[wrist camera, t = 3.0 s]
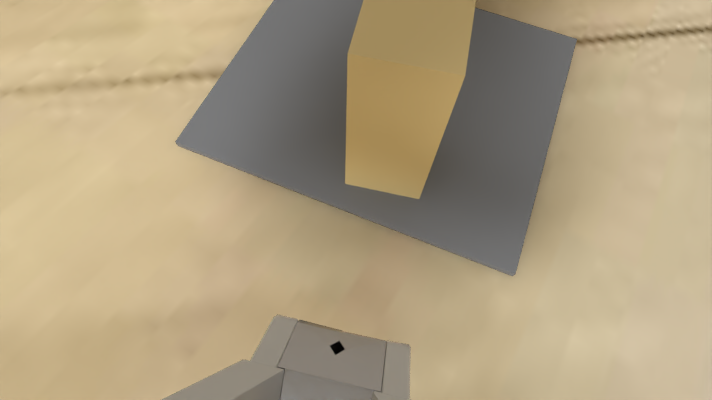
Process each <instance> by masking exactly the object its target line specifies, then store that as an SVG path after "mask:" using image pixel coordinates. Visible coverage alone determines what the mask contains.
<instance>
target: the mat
mask: <svg viewBox="0 0 712 400" xmlns="http://www.w3.org/2000/svg"><path fill="white" fill-rule="evenodd" d="M362 3H363V0H274V1H273V2H272V4H271V5H270V7H269V8H268V9H267V11H266V12H265V14H264V15H263V17H262V18H261V20H260V21H259V22H258V24H257V25H256V27H255V28H254V30H253V31H252V32H251V34H250V35H249V37H248V38H247V40H246V41H245V42H244V44H243V45H242V47H241V48H240V50H239V51H238V53H237V54H236V55H235V57H234V58H233V60H232V61H231V63H230V64H229V65H228V67H227V68H226V70H225V71H224V73H223V74H222V75H221V77H220V78H219V80H218V81H217V83H216V84H215V86H214V87H213V88H212V90H211V91H210V93H209V94H208V96H207V97H206V98H205V100H204V101H203V103H202V104H201V106H200V107H199V108H198V110H197V111H196V113H195V114H194V116H193V117H192V119H191V120H190V121H189V123H188V124H187V126H186V127H185V129H184V130H183V131H182V133H181V134H180V136H179V137H178V139H177V140H176V141H175V142H176V144H177V145H178V146H180V147H183V148H185V149H188V150H190V151H193V152H195V153H198V154H201V155H203V156H206V157H208V158H211V159H213V160H216V161H219V162H221V163H224V164H226V165H229V166H231V167H234V168H236V169H239V170H242V171H244V172H247V173H249V174H252V175H254V176H257V177H260V178H262V179H265V180H267V181H270V182H272V183H275V184H278V185H280V186H283V187H285V188H288V189H290V190H293V191H295V192H298V193H301V194H303V195H306V196H308V197H311V198H313V199H316V200H319V201H321V202H324V203H326V204H329V205H331V206H334V207H336V208H339V209H342V210H344V211H347V212H349V213H352V214H354V215H357V216H360V217H362V218H365V219H367V220H370V221H372V222H375V223H378V224H380V225H383V226H385V227H388V228H390V229H393V230H395V231H398V232H401V233H403V234H406V235H408V236H411V237H413V238H416V239H419V240H421V241H424V242H426V243H429V244H431V245H434V246H436V247H439V248H442V249H444V250H447V251H449V252H452V253H454V254H457V255H460V256H462V257H465V258H467V259H470V260H472V261H475V262H478V263H480V264H483V265H485V266H488V267H490V268H493V269H495V270H498V271H501V272H503V273H506V274H508V275H511V276H513V275H515V274H516V270H517V266H518V262H519V258H520V254H521V251H522V247H523V243H524V239H525V235H526V231H527V228H528V224H529V220H530V216H531V212H532V209H533V205H534V201H535V197H536V193H537V189H538V186H539V182H540V178H541V174H542V170H543V167H544V163H545V159H546V155H547V151H548V147H549V144H550V140H551V136H552V132H553V128H554V124H555V121H556V117H557V113H558V109H559V105H560V102H561V98H562V94H563V90H564V86H565V82H566V79H567V75H568V71H569V67H570V63H571V60H572V56H573V52H574V48H575V44H576V40H577V39H575V38H572V37H568V36H565V35H562V34H559V33H556V32H552V31H549V30H546V29H543V28H539V27H536V26H533V25H530V24H526V23H523V22H520V21H517V20H514V19H510V18H507V17H504V16H501V15H497V14H494V13H491V12H488V11H484V10H481V9H478V8H475V11H474V18H473V25H472V32H471V39H470V46H469V53H468V60H467V67H466V74H465V78H464V80H463V83H462V86H461V89H460V91H459V94H458V97H457V99H456V102H455V105H454V107H453V110H452V113H451V115H450V118H449V121H448V123H447V126H446V129H445V131H444V134H443V137H442V139H441V142H440V145H439V147H438V150H437V153H436V155H435V158H434V161H433V164H432V166H431V169H430V172H429V174H428V177H427V180H426V182H425V185H424V188H423V190H422V193H421V196H420V198H419V199H415V198H411V197H406V196H401V195H396V194H391V193H387V192H382V191H377V190H372V189H367V188H363V187H358V186H353V185H348V184H345V161H346V109H347V57H348V50H349V47H350V44H351V40H352V37H353V34H354V30H355V27H356V24H357V20H358V17H359V13H360V10H361V7H362Z"/></svg>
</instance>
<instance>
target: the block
mask: <svg viewBox="0 0 712 400" xmlns="http://www.w3.org/2000/svg"><path fill="white" fill-rule="evenodd" d="M475 5H476V0H363V3H362V7H361V10H360V13H359V17H358V20H357V24H356V27H355V30H354V34H353V37H352V40H351V44H350V47H349V50H348V57H347V109H346V161H345V184H348V185H353V186H358V187H363V188H367V189H372V190H377V191H382V192H387V193H391V194H396V195H401V196H406V197H411V198H415V199H419V198H420V196H421V193H422V190H423V188H424V185H425V182H426V180H427V177H428V174H429V172H430V169H431V166H432V164H433V161H434V158H435V155H436V153H437V150H438V147H439V145H440V142H441V139H442V137H443V134H444V131H445V129H446V126H447V123H448V121H449V118H450V115H451V113H452V110H453V107H454V105H455V102H456V99H457V97H458V94H459V91H460V89H461V86H462V83H463V80H464V78H465V74H466V67H467V60H468V53H469V46H470V39H471V32H472V25H473V18H474V11H475Z"/></svg>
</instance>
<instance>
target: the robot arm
mask: <svg viewBox="0 0 712 400" xmlns="http://www.w3.org/2000/svg"><path fill="white" fill-rule="evenodd" d="M410 355H411V347H410V346H409V345H408V344H403V343H398V342H393V341H388V340H387V341H384V340H380V339H376V338H371V337H367V336H362V335H358V334H353V333H349V332H344V331H342V330H338V329H334V328H330V327H326V326H322V325H319V324H315V323H311V322H307V321H303V320H298V319H295V318H290V317H286V316H282V315H278V314H277V315H276V316H275V317H273V319H272V321H271V323H270V325H269V327H268V328H267V330H266V332H265V334H264V336H263V338H262V339H261V341H260V343H259V345H258V347H257V349H256V351H255V352H254V354H253V356H252V358H251V360H250V361H248V360H241V361H239V362H237V363H235V364H233V365H231V366H229V367H227V368H225V369H223V370H221V371H219V372H217V373H215V374H213V375H211V376H209V377H207V378H205V379H203V380H201V381H199V382H197V383H194V384H192V385H190V386H188V387H186V388H184V389H182V390H180V391H178V392H176V393H174V394H172V395H170V396H168V397H166V398H164V399H162V400H410Z"/></svg>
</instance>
